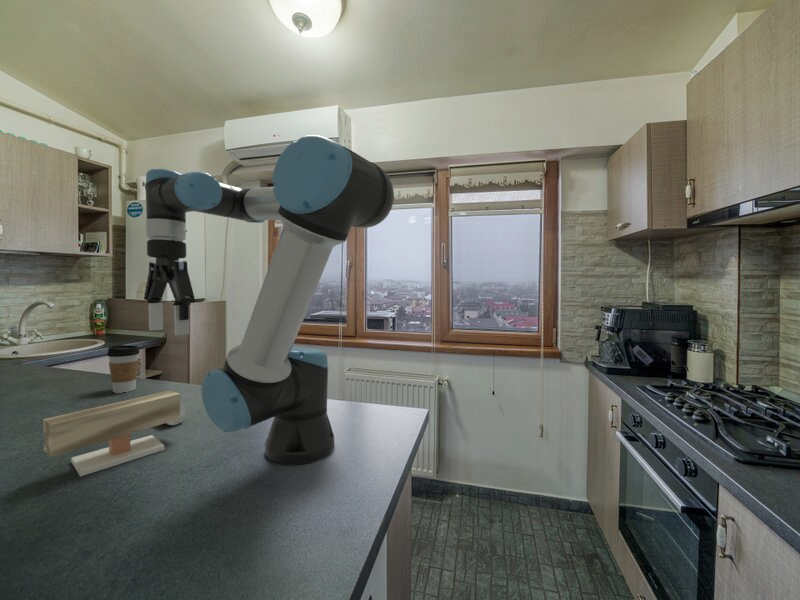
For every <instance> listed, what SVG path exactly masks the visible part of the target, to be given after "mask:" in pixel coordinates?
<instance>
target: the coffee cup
mask: <svg viewBox="0 0 800 600" xmlns="http://www.w3.org/2000/svg"><path fill="white" fill-rule="evenodd" d="M107 348H108V349H107V354H106V355H107V357H108V358H109V362H108V365H109V374H110V380H111V387H112V392H115V393H114V394H124V393H123V392H126V393H130V392H129V391H131V392H133V391H132V390H134V389H135V390H136V387H137V385H136V384H137V375H138V365H139V354H140V347H139V346H138V345H130V344H129V345H127V344H125V345H124V344H121V345H120V344H119V345H118V344H117V345H110V346H108V347H107ZM135 390H134V391H135Z"/></svg>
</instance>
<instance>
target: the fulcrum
mask: <svg viewBox="0 0 800 600" xmlns="http://www.w3.org/2000/svg"><path fill="white" fill-rule="evenodd" d="M108 442H109V444H108V445H109V446H108V447H104V448H100V449H97V450H94V451H91V452H87V453H84V454H83V453H82V454H79V455H76V456H72V457H71V463H72V466H73V467H74V469H75V471H76V472H77V474H78V475H79V477H83V476H86V475H89V474H93V473H96V472H99V471H102V470H105V469H109V468H111V467H112V468H113V467H115V466H117V465H121V464H124V463H128V462H130V461H134V460H137V459H140V458H143V457H146V456H149V455H153V454H156V453H159V452H163V451H164V450H165V448H166V447H165V445H164V443H162V442H161V441H160V440H159V439H157V437H155V436H154V435H152V434H151V435H148V436H144V437H140V438H136V439H132V440H131V434H127V435H124V436H121V437H117V438H114V439H111V440H108Z"/></svg>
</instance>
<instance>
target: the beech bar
mask: <svg viewBox="0 0 800 600" xmlns="http://www.w3.org/2000/svg"><path fill="white" fill-rule="evenodd" d="M180 405H181V394H180V393H179V392H176V391H173V390H165V391H161V392H157V393H153V394H148V395H145V396H140V397H135V398H130V399H126V400H122V401H118V402H114V403H110V404H109V403H108V404H105V405H100V406H96V407H91V408H87V409H82V410H78V411H74V412H69V413H65V414H61V415H55V416H51V417H48V418H44V419H43V421H42V422H43V423H42V425H43V427H42V428H43V450H44V452H45V453H46V454H47V455H49V456H50V457H51V458H53V457H56V456H59V455H63V454H67V453H70V452H73V451H76V450H77V451H78V450H81V449H83V448H86V447H90V446H93V445H97V444H100V443H103V442H107V441H109V440H111V439H114V438H117V437H121V436H124V435H127V434H130V435H131V434H133V433H137V432H139V431H140V432H141V431H143V430H147V429H151V428H153V427H158V426H161V425H163V424H165V423H168V422H171V421H174V420H178V419H180Z"/></svg>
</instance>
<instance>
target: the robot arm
mask: <svg viewBox="0 0 800 600" xmlns="http://www.w3.org/2000/svg"><path fill="white" fill-rule="evenodd" d="M271 177H272V179H271V182H272V185H274V186H267V187H265V186H264V187H263V186H262V187H253V188H242V187H238V186H233V185H230V184H227V183H223V182H220V181H218V180H217V179H216V178H215V177H213V176H212V175H211V174H209V173H208V172H205V171H191V172H185V173H183V174H182V173H180V172H177V171H174V170H170V169H165V168H151V169H149V170H147V172H146V175H145V183H144V188H145V207H146V211H145V212H146V221H145V222H146V223H145V224H146V225H145V227H146V228H145V229H146V232H145V233H146V235H145V236H146V237H147V238H148V240H147V241H146V254H147V256H148V257H150V258H155V261H149V263H148V272H147V273H148V275H147V278H146V279H147V280H146V286H145V291H144V297H143V299H144V300H145V301H147V304H148V330H149V331H158V330H164V308H163V307H164V306H163V303H164V299H163V295H164V293H165V289H166V288H167V284H168V285H169V288H170V291H171V294H172V296H173V298H174V302H173V304H172V305H173V306H174V307H173V310H174V318H173V319H174V336H183V335H190V305H191V303H195V301H196V298H195V294H194V292H193V291H194V290H193V287H192V282H191V279H190V275H189V271H188V270H189V269H188V261H187V260H180V259H186V258H187V243H186V242H184V241H185V240H186V239H187V234H186V233H187V232H188V228H186V227H187V226H186V223H187V220H186V217H187V215H186V213H190V212H197V213H203V214H208V215H213V216H217V217H218V216H219V217H224V218H228V219H234V220H238V221H239V220H240V221H242V222H243V221H245V222H246V223H253V224H255V223H256V224H261V223H264V222H265V221H280V222H281V224H282V229H281V232H280V235H279V238H278V241H277V244H276V247H275V249H274V252H273V255H272V257H271V260H270V263H269V266H268V268H267V271H266V273H265V277H264V279H263V281H262V286H261V287H260V291H259V294H258V297H257V299H256V302H255V305H254V308H253V310H252V313H251V316H250V318H249V322H248V324H247V327H246V330H245V332H244V335H243V338H242V341H241V343H240V344H238V345H236V346H234V347H232V348H231V349H230V350H229V351H228V353H227V355H226V359H225V361H224V364H223V366H222V367H221V368H219V369H218V368H215V369H213V370H211V371H209V372H207V373H206V375H204V377H203V379H202V384H201V398H202V404H203V405H204V406H203V407H204V409H205V413H206V415H207V416H208V418H209V419H210V421H211V423H213V425H214V426H215V427H216V428H217V429H219V430H220V431H223V432H225V433H235V432H238V431H242V430H246V429H249V428H250V427H253V426H255V425H257V424H260V423H262V422H265V421H267V420H269V419H271V418H273V420H272V422H271V425H270V428H269V432H268V434H267V438H266V440H265V445H264V450H265V452H264V454H265V457H266V458H267V459H268V460H270V461H271V462H272V463H273V462H274V463H276V464H280V465H285V466H286V465H287V466H296V465H298V466H299V465H304V464H305V465H306V464H310V463H314V462H317V461H319V460H322V459H324V458H325V457H327V456H328V455H329V454H331V453H332V452H333V450H334V448H335V434H334V432H333V428H332V424H331V422H330V419H329V415H328V383H329V381H328V378H329V376H328V375H329V366H328V355H327V354H326V352H325V351H323V350H321V349H317V348H310V347H299V346H298V347H297V346H294V343H295V341H296V339H297V338H298V337H297V336H298V333H299V331H300V329H301V327H302V324H303V321H304V319H305V317H306V316H307V315H306V314H307V312H308V309H309V308H310V304H311V302H312V300H313V297H314V295H315V292H316V290H317V287H318V286H319V285H318V284H319V282H320V281H321V280H320V279H321V277H322V276H323V273H324V271H325V269H326V265H327V263H328V260H329V258H330V256H331V253H332V250H333V249H334V247H336V246H339V245H341V244H343V243H345V242H346V241H347V239H348V236H349V235H350V231H351V229H352V227H353V228H361V229H363V228H364V229H366V228H371V227H375V226H377V225H379V224H380V223H382V222H383V221H384V220H385V219H387V217H388V216H389V214H390V212H391V210H392V208H393V205H394V199H395V193H394V187H393V182H392V181H391V179H390V177H389V176H388V174H387V173H386V172H385V170H383V169H382V167H380V166H379V165H377V164H376V163H374V162H372V161H369V160H368V159H366V158H364V157H362V156H361V155H360V154H358V153H356V152H355V151H354V150H351V149H350V148H348V147H346V146H345V145H343V144H341V143H340V142H336V141H334V140H331V139H330V138H328V137H325V136H321V135H318V134H308V135H304V136H300V138H299V139H297V140H293V141H292V142H291V143H290V144H289V145H288V146H287V147H285V148H284V150H283V151H282V152H281V154H280V155H279V157H278V158H277V161H276V163H275V166H274V169H273V173H272V176H271Z"/></svg>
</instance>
